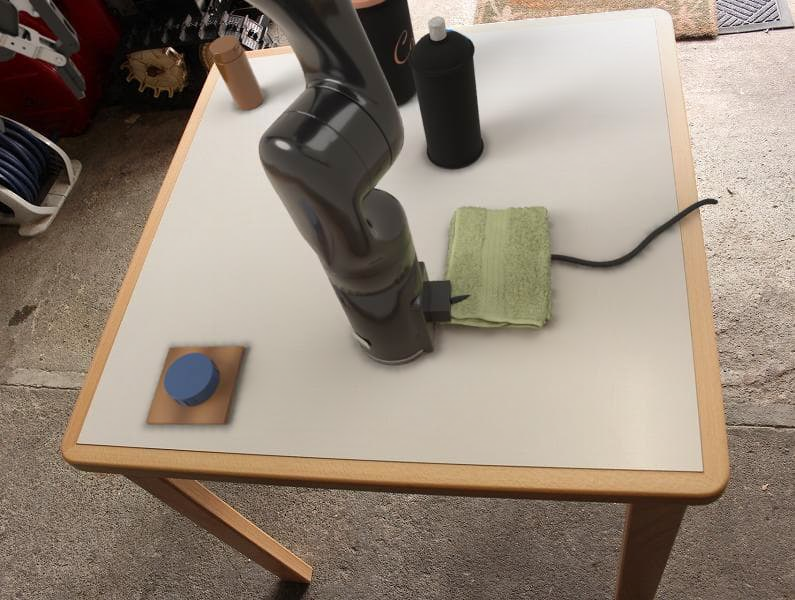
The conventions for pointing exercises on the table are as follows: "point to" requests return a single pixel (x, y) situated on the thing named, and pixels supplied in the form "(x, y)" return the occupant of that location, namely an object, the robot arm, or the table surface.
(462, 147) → the aerosol can
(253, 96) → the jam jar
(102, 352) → the table surface
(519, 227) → the washcloth
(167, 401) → the mat
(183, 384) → the jar lid
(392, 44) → the coffee jar
